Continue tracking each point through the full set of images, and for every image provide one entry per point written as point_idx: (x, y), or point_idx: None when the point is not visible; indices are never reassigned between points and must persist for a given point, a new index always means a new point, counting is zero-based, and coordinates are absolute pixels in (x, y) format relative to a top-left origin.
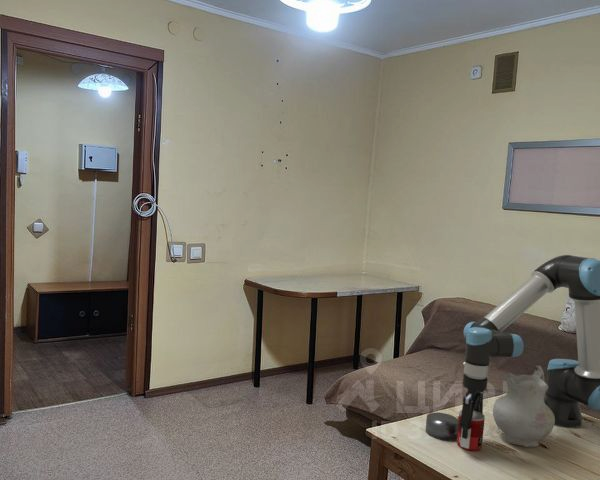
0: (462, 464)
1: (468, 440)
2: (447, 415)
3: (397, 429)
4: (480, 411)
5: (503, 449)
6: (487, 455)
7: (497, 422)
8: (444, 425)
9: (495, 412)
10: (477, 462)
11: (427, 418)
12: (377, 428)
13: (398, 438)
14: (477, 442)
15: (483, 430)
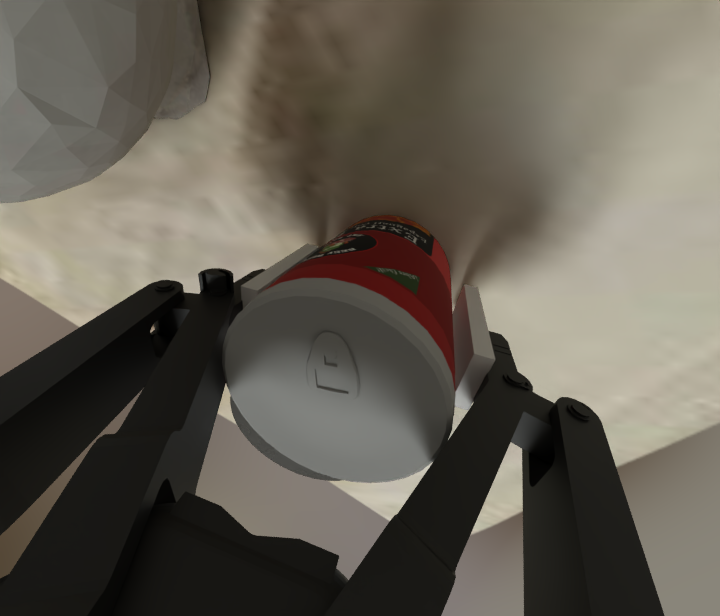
0: (647, 299)
1: (481, 314)
2: None
3: (390, 494)
4: (186, 321)
5: (313, 78)
6: (455, 170)
7: (127, 143)
8: None
9: (39, 172)
10: (588, 220)
11: (339, 479)
12: None
13: None
14: (436, 252)
15: (365, 240)
